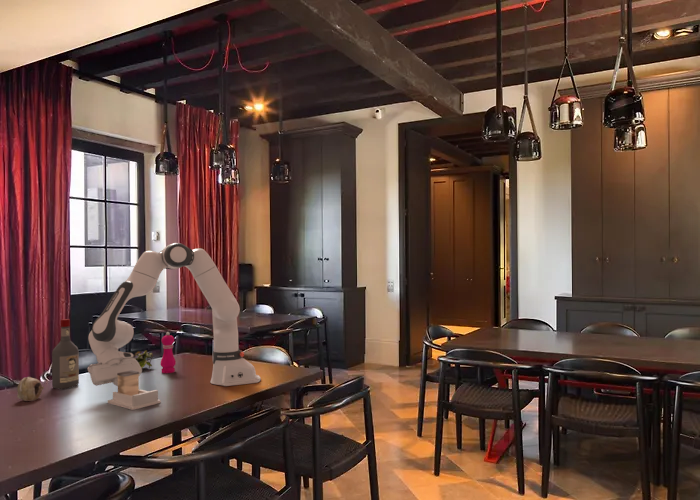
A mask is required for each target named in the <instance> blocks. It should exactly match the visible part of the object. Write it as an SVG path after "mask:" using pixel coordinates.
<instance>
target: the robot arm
mask: <svg viewBox="0 0 700 500" xmlns="http://www.w3.org/2000/svg"><path fill="white" fill-rule="evenodd" d="M182 267H185V268H186V269H187V270H189V271H190V273H191V276H192V277H193V279H194V280H195V282H196V284H197V286H198V287H199V290H200V292H202V295H203V296H204V297H205V299H206V301H207V303H208V304H209V306H210V307H211V310H212V311H211V312H212V314H211V315H212V329H213V351H212V364H213V366H212V373H211V379H210V383H211V384H212V385H218V386H223V387H229V386H238V385H239V386H240V385H246V384H247V385H248V384H257V383H259V382H261V376H260V375H258V374H256V369H255V366H254V365H253V364H252V363H251V362H249V361H248V360H247V359H245V358H243V357H244V356H245V352H244V351H242V350H240V349H239V328H238V316H239V315H240V310H241V308H240V305H239V303H238V301H237V299H236V297H235V296H234V294H233V292H232V291H231V289H230V287H229V286H228V284H227V283H226V281H225V279H224V277H223V276H222V274H221V273H220V271H219V269H218V267H217V265H216V264H215V262H214V261H213V259H212V257H211V256H210V254H209V253H208V252H207V251H206V250H205V249H203V248H201V247H200V248H199V247H198V248H194V249H193V248H190V247H188V246H187V245H185V244H183V243H180V242H174V243H171V244H168V245H167V246H165V247H164V248H163V249H162V250H160V251H159V252H157V251H154V250H146V251H144V252H142V254H140V257H139V258H138V260H137V262H136V263H135V265H134V266H133V269H132V270H131V272H130V274H129V276H128V277H127V279H125V280H124V281H123V282H122V283H120V284H119V286H118V287H117V288H116V290H115V291H114V293H113V295H112V296H111V298H110V300H109V301H108V303H107V304H106V307H105V308H104V309H103V311H102V312H101V314H100V315H99V316H98V317H97V318H96V319H95V321H94V322H93V325H92V327H91V328H92V329H91V331H90V332H89V334H88V337H87V338H88V343H89V346H90V349H91V351H92V353H93V354H94V355H95V357H96V361H97V363H94V364H93V363H91V364H89V366H88V367H87V372H88V374H89V376H90V379H91V383H92V384H93V386H95V387H97V386H101V385H106V384H111V383H113V385H114V386H115V387H117V388H118V375H117V373H120V372H125V371H130V370H133V371H138V372H139V377H140V376H141V374H142V372H143V368H141V366H140V365H139V363H138V362H137V360H136V359H134V358H135V357H134V354H133V353H132V352H125V351H120V350H119V349H121V348H123V347H124V346H126V345H128V344H129V343H130V342H131V341H132V339H133V338H134V335H135V332H134V331H135V330H134V327H133V325H132V324H130V323H128V322H125V321H123V320H120V319H118V318H119V316H120V313H121V312H122V310H123V309H124V307H125V305H127V304H126V303H128V301H129V300H131V299H133V298H137V297H143V296H146V295H148V294H150V293H151V292H152V291H153V290H154V288H155V287H156V284H157V282H158V280H159V278H160V275H161V273H162V272H163V271H164V270H178V269H181V268H182Z"/></svg>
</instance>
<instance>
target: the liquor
mask: <svg viewBox="0 0 700 500" xmlns="http://www.w3.org/2000/svg"><path fill="white" fill-rule="evenodd" d="M70 326H71V320H70V318H64V319H60V339H59V340H60V341H59V342H58V343H57V345H56V346H55V347H54V348H53V349H52V352H51V366H52V367H51V372H52V373H51V376H52V377H51V379H52V380H51V381H52V382H51V383H52V388H53V389H57V390H69V389H71V388H76V386H77V387H78V386H79V384H80V374H79V373H80V372H79V369H80V368H79V366H80V365H79V364H80V363H79V362H80V361H79V360H80V359H79V358H80V356H79V348H78V346H77V345H75V343H74V342H73V341H72V340H71V337H70V334H71V333H70V328H71V327H70Z"/></svg>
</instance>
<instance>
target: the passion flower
mask: <svg viewBox="0 0 700 500" xmlns="http://www.w3.org/2000/svg"><path fill="white" fill-rule="evenodd" d="M153 356H154V353H153V352H150V353H149V352H148V350H144V351H137V352H135V353H134V357H133V358H134V359H136V360H137V362H138V363H139V365H140V366H141V368H142V369H143V368H144V367H145V366H146V365H147V366H148V368H149V370H150V369H151V367H153V365H152V364H151V362H152V359H153ZM149 358H150V360H148V359H149Z"/></svg>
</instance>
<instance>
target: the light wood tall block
mask: <svg viewBox="0 0 700 500" xmlns="http://www.w3.org/2000/svg"><path fill="white" fill-rule="evenodd" d="M117 375H118V387H117V392H118V393H122V394H126V395H130V396H132V395H136V394H139V387H140V386H139V383H140V382H139V379H140V378H139V377H140V376H139V372H138V371H133V370H130V371H125V372H120V373H117Z"/></svg>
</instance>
